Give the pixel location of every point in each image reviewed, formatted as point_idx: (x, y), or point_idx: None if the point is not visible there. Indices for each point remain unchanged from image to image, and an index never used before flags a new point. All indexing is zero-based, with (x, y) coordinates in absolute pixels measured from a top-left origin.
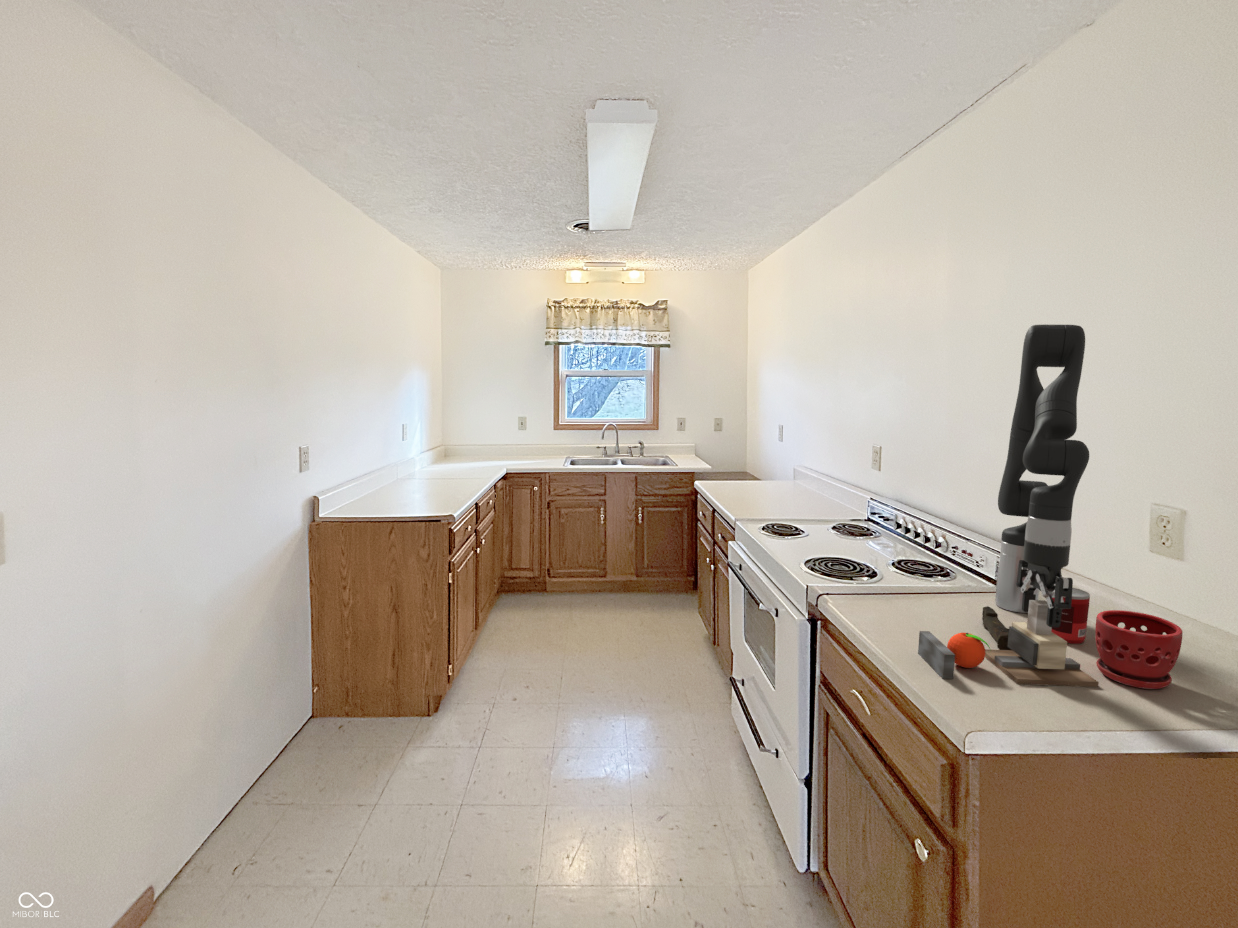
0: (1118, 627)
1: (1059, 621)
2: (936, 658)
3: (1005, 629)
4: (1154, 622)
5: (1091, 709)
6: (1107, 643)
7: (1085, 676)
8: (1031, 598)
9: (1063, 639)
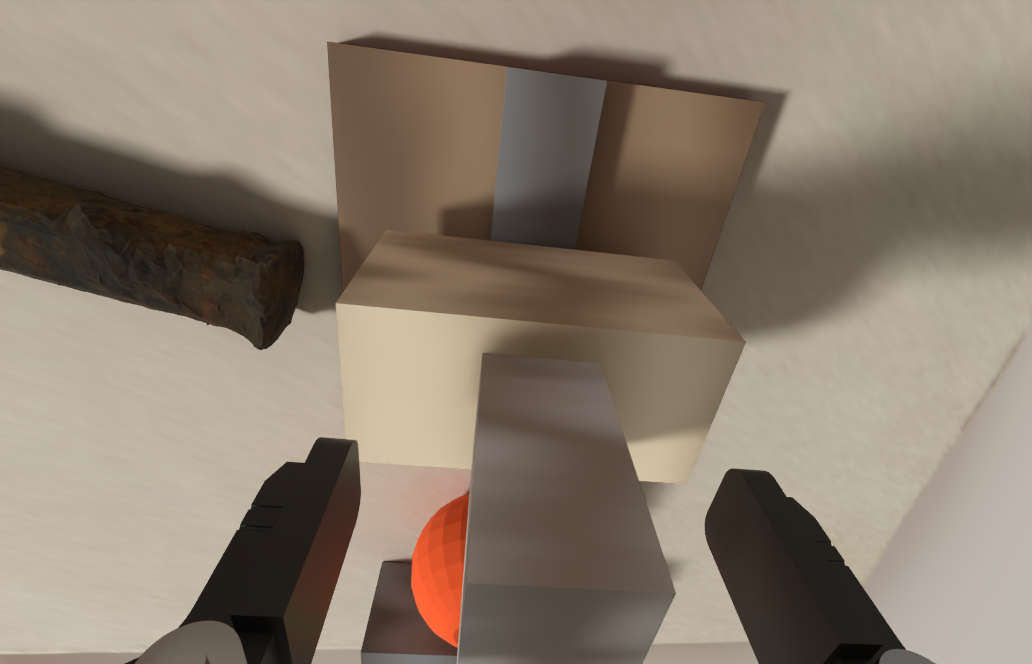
0: None
1: (820, 541)
2: None
3: (141, 273)
4: None
5: (890, 307)
6: None
7: (690, 126)
8: (310, 594)
9: (700, 337)
